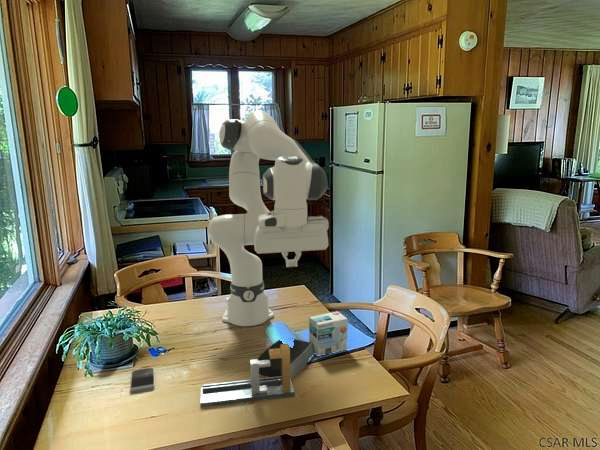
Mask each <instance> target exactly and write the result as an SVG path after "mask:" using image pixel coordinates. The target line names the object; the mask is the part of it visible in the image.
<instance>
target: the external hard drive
mask: <svg viewBox="0 0 600 450" xmlns="http://www.w3.org/2000/svg"><path fill="white" fill-rule="evenodd" d="M293 339H294V341H293V342H294V346H293V348H291V347H289V348H290V379H293V378H294V377H295V376H296V375H298V373H300V372H301V371H302V370H303V369H304V368H305V367H306V366H307V365H308V364H307V362H308V360H309V358H310V357H311V356H312V355H313V354H314V353H315V352H314V347H313V344H312V343H310V342H309V341H306V340H300V339H296V338H293ZM281 344H283V343H282V341H280V339H278V340H277V341H275V342H274V343H273V344H271V345H269V346H268V347H267V348H266V349H265V350H264V351H263V352H262V353H260V355H259V357H258V358H257V359H258V361H261V360H270V366H269V367H260V368H259V376H263V377H265V378H269V377H278V376H281V358H276V359H270V356H269V349H276V348H281V347H280V345H281ZM308 363H309V362H308Z"/></svg>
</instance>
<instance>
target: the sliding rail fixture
mask: <svg viewBox="0 0 600 450" xmlns="http://www.w3.org/2000/svg"><path fill="white" fill-rule="evenodd" d="M280 347H281V348H276V349H269V356H270V359H276V358H281V376H278V377H264V378H260V377H259V386H265V385H266V387H267V393H265V394H256V395H252V392H251V379H244V380H234V381H227V382H225V381H224V382H217V383H216V382H215V383H206V384H202V387H201V388H200V404H199V405H200V408H207V407H209V408H210V407H217V406H225V405H233V404H240V403H249V402H251V403H252V402H258V401H266V400H267V401H268V400H273V399H274V400H276V399H282V398H290V397H291V398H292V397H295V395H296V392H295V389H294V385H293V382H292V380H291V379H290V348H289V345H288V344H281V345H280Z"/></svg>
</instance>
